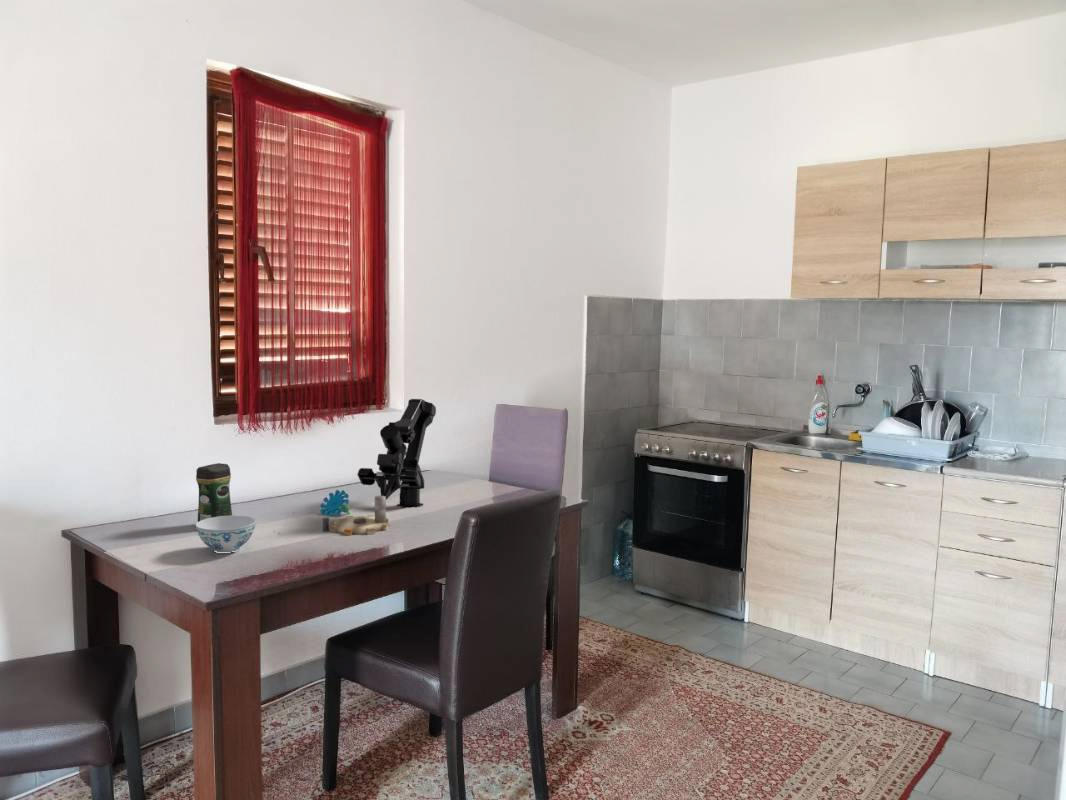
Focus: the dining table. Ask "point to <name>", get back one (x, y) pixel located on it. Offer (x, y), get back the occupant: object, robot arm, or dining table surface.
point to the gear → (335, 503)
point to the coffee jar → (214, 491)
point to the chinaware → (226, 532)
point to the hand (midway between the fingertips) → (382, 500)
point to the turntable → (363, 521)
